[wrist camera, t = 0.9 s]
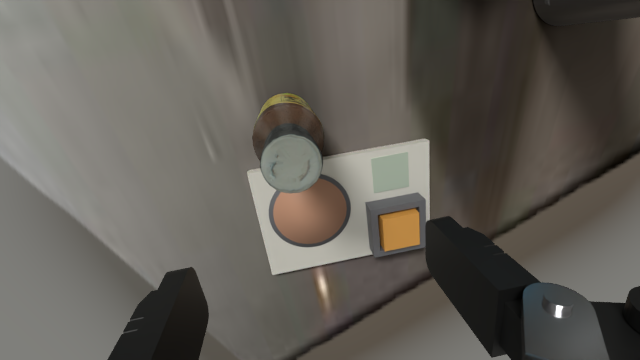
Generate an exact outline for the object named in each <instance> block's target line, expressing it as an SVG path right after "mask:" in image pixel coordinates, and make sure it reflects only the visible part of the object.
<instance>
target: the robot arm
mask: <svg viewBox="0 0 640 360" xmlns="http://www.w3.org/2000/svg"><path fill="white" fill-rule="evenodd" d="M533 2H534V7H535V9H536V12H537V14H538V15H539V17H540V18H541V19H542V20H543V21H544V22H546V23H547V24H550V25H552V26H566V25H574V24H583V23H593V22H602V21H611V20H620V19H628V18H637V17H640V0H533ZM425 243H426V262H427V266H428V269H429V271H430V273H431V275H432V276H433V278H434V279H435V280H436V282H437V283H438V285H439V286H440V287H441V289H442V290H443V291H444V293H445V294H446V296H447V297H448V298H449V300H450V301H451V302H452V304H453V305H454V306H455V308H456V309H457V311H458V312H459V313H460V314H461V316H462V317H463V319H464V320H465V321H466V323H467V324H468V326H469V327H470V328H471V330H472V331H473V333H474V334H475V335H476V337H477V338H478V339H479V341H480V342H481V344H482V345H483V346H484V348H485V349H486V350H487V352H488V353H489V354H490V356H491V357H496V356H501V355H505V354H507V355H508V356H509V357H510V358H511V360H640V286H639V287H635V288H633V289H631V290H630V291H629V294H628V297H627V300H626V303H611V302H590V301H588V300H587V299H586V298H585V297H583V296H582V295H580V294H579V293H577V292H576V291H574V290H572V289H569V288H567V287H564V286H561V285H558V284H553V283H541V282H540V281H538V280H537V279H536V278H535V277H534V276H533V275H531V274H530V273H529V272H528V271H527V270H526V269H524V268H523V267H522V266H521V265H520V264H518V263H517V262H516V261H515V260H514V259H512V258H511V257H510V256H509V255H507V254H506V253H504V251H503V250H502V249H500V248H499V247H498V246H497V245H494V243H493V242H492V241H491V240H490V239H488V238H487V237H486V236H485V235H484V234H482V233H480V232H477V231H475V230H473V229H471V228H469V227H466V228H463V227H461V226H460V225H459V224H458V223H457V222H456V221H455V220H454V219H453V218H451V217H449V216H447V217H442V218H437V219H432V220H428V221H427V222H426V225H425ZM208 317H209V313H208V305H207V301H206V299H205V296H204V293H203V291H202V288H201V285H200V282H199V280H198V277H197V274H196V272H195V270H194V269H193V268H192V267H190V268H185V269H180V270H175V271H170V272H167V273H166V274H165V276H164V278H163V280H162V282H161V284H160V286H159V288H158V290H155V291H151V292H150V293H149V294H148V295H147V296H146V297H145V298H144V299H143V300H142V301H141V302H140V303H139V304H138V306H137V308H136V309H135V311H134V313H133V315H132V317H131V318H130V322H128V324H127V326H126V328H125V329H124V334H122V335H121V337H120V338H119V340H118V342H117V344H116V345H115V347H114V349H113V351H112V353H111V355H110V356H109V358H108V360H199V356H200V352H201V347H202V344H203V340H204V336H205V332H206V328H207V324H208Z"/></svg>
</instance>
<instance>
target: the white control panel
mask: <svg viewBox="0 0 640 360" xmlns="http://www.w3.org/2000/svg"><path fill="white" fill-rule="evenodd" d="M247 175H248V179H249V183H250V187H251V191H252V195H253V199H254V203H255V207H256V211H257V215H258V219H259V223H260V227H261V231H262V235H263V239H264V243H265V247H266V251H267V255H268V259H269V263H270V267H271V271H272V275H275V274H280V273H285V272H290V271H294V270H299V269H304V268H309V267H314V266H318V265H323V264H328V263H333V262H338V261H343V260H347V259H352V258H357V257H362V256H367V255H371V254H373V256H374V258H376V257H381V256H386V255H390V254H395V253H400V252H405V251H409V250H414V249H419V248H424V247H426V243H425V225H426V222H427V221H428V220H430V191H429V140H427V139H420V140H414V141H409V142H403V143H398V144H392V145H386V146H381V147H375V148H370V149H364V150H359V151H353V152H348V153H342V154H337V155H331V156H326V157H323V167H322V172H321V175H320V176H319V178H318V180H317V182H316V183H315V184H313V185H312V186H311V187H310V188H308V189H307V190H305V191H302V192H299V193H283V192H280V191H277V190H275V189H274V188H273V187H271V186H270V185H269V184H268V183H267V182H266V180H265V179H264V177H263V175H262V172H261V169H260V168H259V169H253V170H248V172H247ZM411 208H415V209H416V210H417V211H418V212H419V227H420V244H419V245H414V246H409V247H405V248H400V249H395V250H390V251H384V249H383V247H382V246H381V244H380V235H379V222H378V215H380V214H385V213H390V212H395V211H400V210H406V209H411Z"/></svg>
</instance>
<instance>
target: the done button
mask: <svg viewBox="0 0 640 360" xmlns="http://www.w3.org/2000/svg"><path fill="white" fill-rule="evenodd" d="M378 222H379V235H380V244H381V246H382V247H383V249H384V251H390V250H395V249H400V248H405V247H409V246H414V245H419V244H420V227H419V212H418V211H417V210H416V209H415V208H411V209H406V210H400V211H395V212H390V213H385V214H380V215H378Z"/></svg>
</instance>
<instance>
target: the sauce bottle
mask: <svg viewBox="0 0 640 360" xmlns="http://www.w3.org/2000/svg"><path fill="white" fill-rule="evenodd" d="M252 139H253V147H254V150H255V153H256V155H257V157H258V159H259V160H260V169H261V172H262V175H263V177H264V179H265V180H266V182H267V183H268V184H269V185H270V186H271V187H273V188H274V189H275V190H277V191H280V192H283V193H299V192H302V191H305V190H307V189H308V188H310V187H311V186H312V185H313V184H315V183H316V182H317V180H318V178H319V176H320V175H321V172H322V167H323V156H322V153H321V152H322V149H323V144H324V131H323V127H322V125H321V122H320V120H319V119H318V117H317V116H316V115H315V113H314V112H313V111H312V109H311V108H310V107H309V105H308V104H307V103H306V102H305V101H304V100H303V99H302V98H300V97H299V96H297V95H294V94H290V93H283V94H278V95H275V96H273V97H271V98H270V99H269V100H268V101H267V102H266V103H265V104H264V106H263V107H262V109H261V112H260V114H259V116H258V118H257V121H256V123H255V126H254V132H253V137H252Z"/></svg>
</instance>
